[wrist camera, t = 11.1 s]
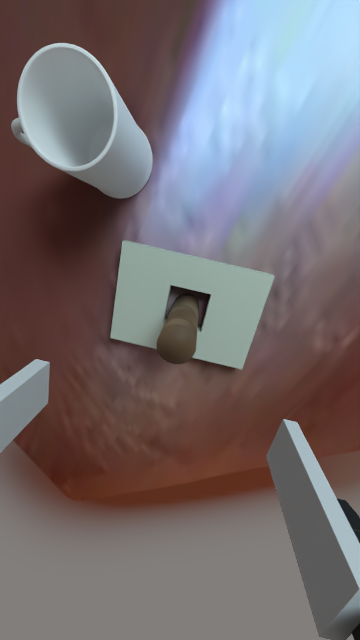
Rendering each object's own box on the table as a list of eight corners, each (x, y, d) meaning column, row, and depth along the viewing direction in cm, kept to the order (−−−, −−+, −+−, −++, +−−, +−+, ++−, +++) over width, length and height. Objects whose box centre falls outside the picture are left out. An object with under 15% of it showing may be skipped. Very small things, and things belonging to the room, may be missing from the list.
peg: (172, 314, 35) (153, 358, 22) (177, 291, 34) (160, 323, 21) (195, 319, 35) (191, 367, 22) (201, 296, 34) (200, 332, 21)
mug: (62, 192, 31) (-18, 164, 20) (59, 112, 29) (-36, 28, 17) (150, 202, 31) (118, 180, 19) (155, 122, 28) (122, 42, 17)
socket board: (114, 332, 37) (110, 337, 35) (127, 240, 32) (122, 240, 31) (240, 362, 37) (241, 369, 35) (270, 273, 32) (274, 275, 30)
